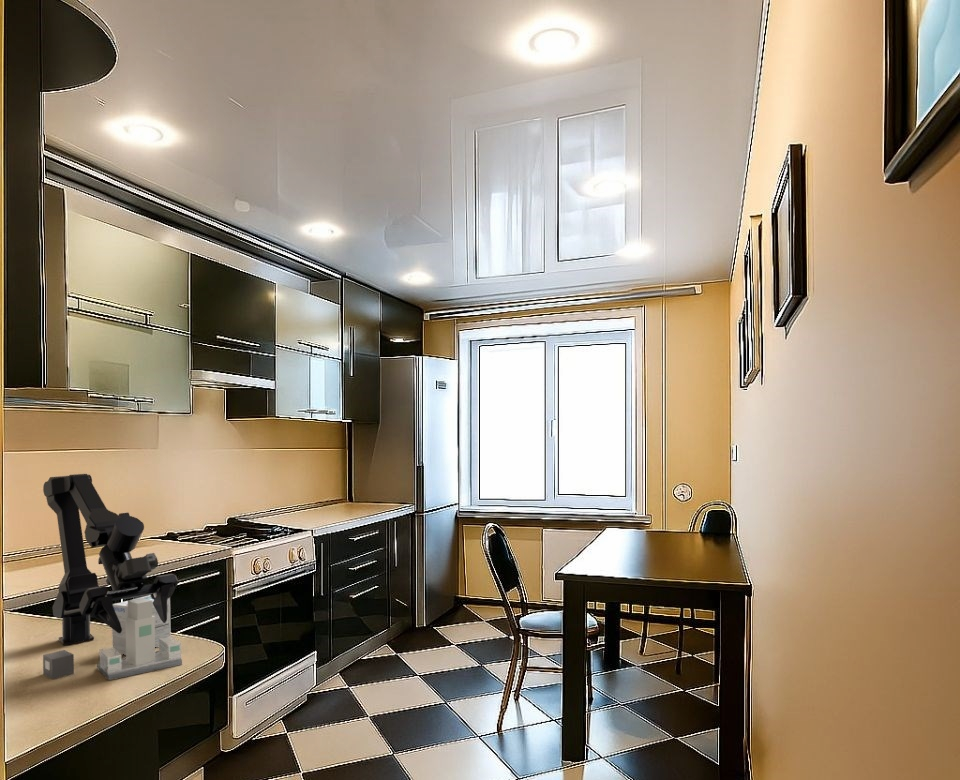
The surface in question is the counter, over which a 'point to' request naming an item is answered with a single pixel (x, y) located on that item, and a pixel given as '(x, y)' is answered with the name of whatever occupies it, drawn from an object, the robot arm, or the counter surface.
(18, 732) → the counter surface
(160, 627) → the light bulb box
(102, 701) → the counter surface
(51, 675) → the block
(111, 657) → the mounting plate
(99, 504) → the robot arm
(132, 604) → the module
